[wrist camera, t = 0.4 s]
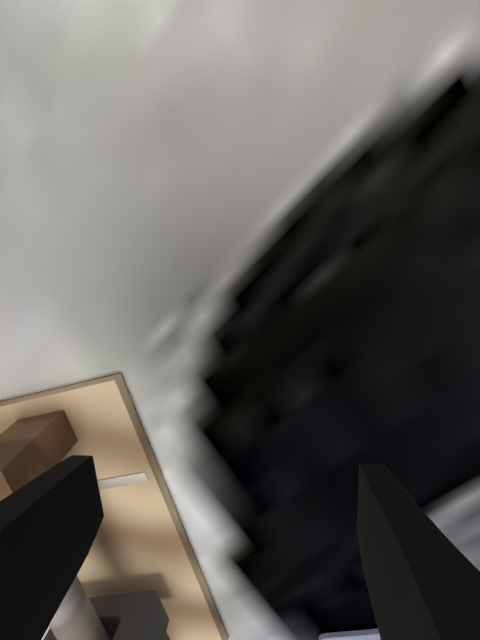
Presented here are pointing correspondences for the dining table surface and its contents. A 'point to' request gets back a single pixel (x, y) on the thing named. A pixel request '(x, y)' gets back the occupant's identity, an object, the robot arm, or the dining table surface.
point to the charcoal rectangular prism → (130, 616)
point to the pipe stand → (110, 506)
